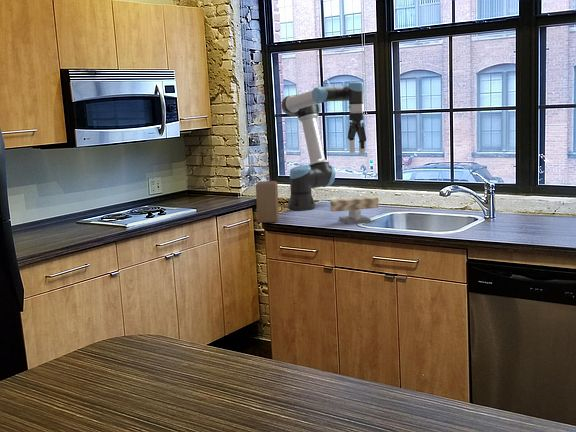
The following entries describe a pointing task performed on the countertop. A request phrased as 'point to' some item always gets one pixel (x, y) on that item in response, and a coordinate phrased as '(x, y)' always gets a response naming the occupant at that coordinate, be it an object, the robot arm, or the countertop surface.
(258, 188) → the wooden block
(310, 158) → the robot arm
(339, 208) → the beech bar
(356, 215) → the fulcrum
